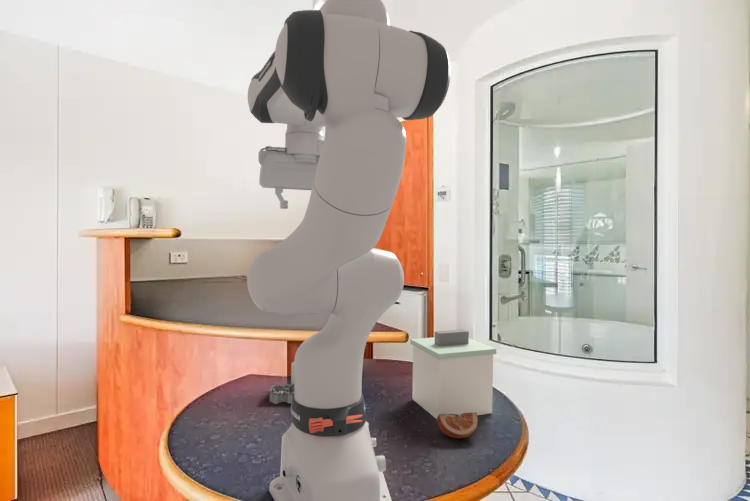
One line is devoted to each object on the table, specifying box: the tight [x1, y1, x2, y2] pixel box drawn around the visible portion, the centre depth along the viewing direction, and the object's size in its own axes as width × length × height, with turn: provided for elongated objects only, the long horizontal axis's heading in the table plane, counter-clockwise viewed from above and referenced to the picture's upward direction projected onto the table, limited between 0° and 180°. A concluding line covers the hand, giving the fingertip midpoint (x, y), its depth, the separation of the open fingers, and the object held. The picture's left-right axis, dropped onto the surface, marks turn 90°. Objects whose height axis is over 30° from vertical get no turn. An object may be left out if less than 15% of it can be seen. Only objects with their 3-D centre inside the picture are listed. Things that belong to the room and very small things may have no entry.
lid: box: [410, 329, 497, 359], centre depth 103 cm, size 15×15×5 cm
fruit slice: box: [436, 412, 479, 439], centre depth 87 cm, size 8×7×5 cm
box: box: [411, 345, 494, 420], centre depth 103 cm, size 14×14×14 cm
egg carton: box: [269, 383, 294, 405], centre depth 107 cm, size 11×8×4 cm
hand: (304, 209), depth 99 cm, fingers open, 8 cm apart
